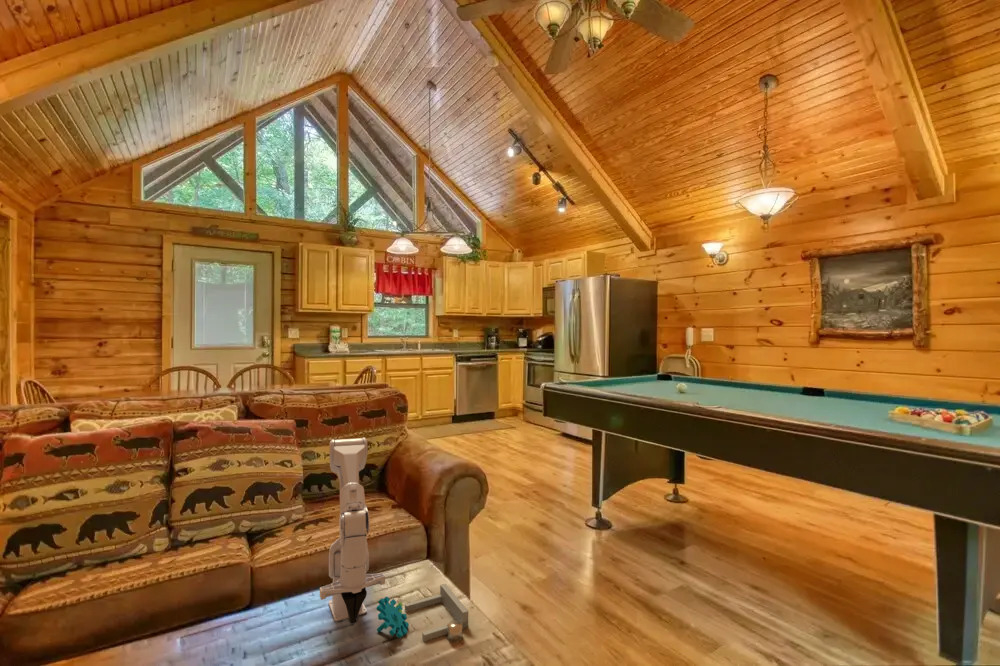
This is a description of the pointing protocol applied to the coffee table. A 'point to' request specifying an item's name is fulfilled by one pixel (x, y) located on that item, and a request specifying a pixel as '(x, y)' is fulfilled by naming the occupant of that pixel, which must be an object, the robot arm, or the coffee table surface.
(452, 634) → the bushing
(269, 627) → the coffee table surface
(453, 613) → the cradle
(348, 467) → the robot arm
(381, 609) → the gear
